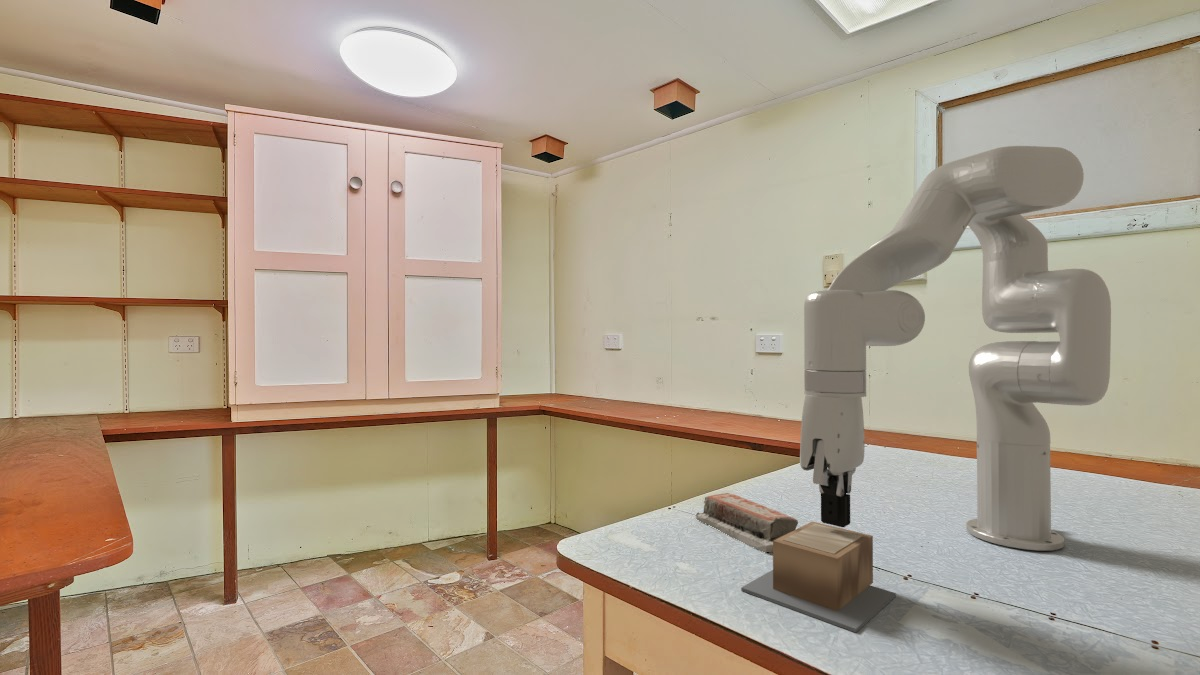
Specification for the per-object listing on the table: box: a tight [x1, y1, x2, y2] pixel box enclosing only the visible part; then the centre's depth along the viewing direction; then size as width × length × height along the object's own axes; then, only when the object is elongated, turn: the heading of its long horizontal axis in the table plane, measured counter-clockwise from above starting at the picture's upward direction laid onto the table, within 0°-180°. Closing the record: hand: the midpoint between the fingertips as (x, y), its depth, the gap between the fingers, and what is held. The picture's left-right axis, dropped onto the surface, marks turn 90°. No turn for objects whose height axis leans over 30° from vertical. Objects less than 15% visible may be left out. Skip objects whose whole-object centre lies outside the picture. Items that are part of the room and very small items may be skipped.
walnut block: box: [772, 521, 874, 611], centre depth 69 cm, size 6×8×11 cm
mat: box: [740, 569, 897, 633], centre depth 68 cm, size 12×14×1 cm
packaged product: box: [695, 492, 799, 554], centre depth 92 cm, size 18×5×10 cm
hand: (835, 523), depth 72 cm, fingers closed
